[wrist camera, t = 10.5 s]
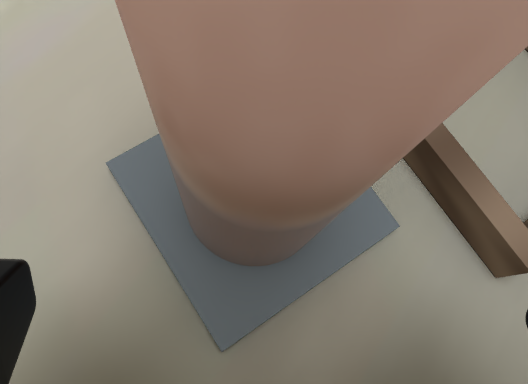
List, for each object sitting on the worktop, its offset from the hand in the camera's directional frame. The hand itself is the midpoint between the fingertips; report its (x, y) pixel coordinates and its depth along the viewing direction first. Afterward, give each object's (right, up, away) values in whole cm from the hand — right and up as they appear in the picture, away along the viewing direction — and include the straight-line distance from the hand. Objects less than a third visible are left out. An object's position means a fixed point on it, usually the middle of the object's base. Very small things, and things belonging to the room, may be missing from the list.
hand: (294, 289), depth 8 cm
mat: (-1, +1, +9) cm, 10 cm away
